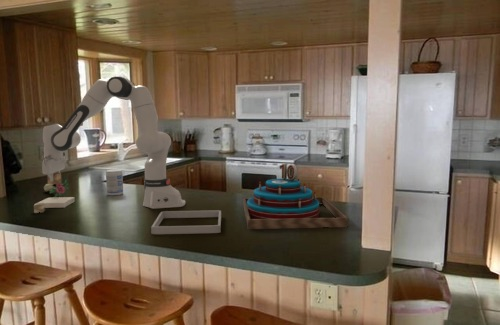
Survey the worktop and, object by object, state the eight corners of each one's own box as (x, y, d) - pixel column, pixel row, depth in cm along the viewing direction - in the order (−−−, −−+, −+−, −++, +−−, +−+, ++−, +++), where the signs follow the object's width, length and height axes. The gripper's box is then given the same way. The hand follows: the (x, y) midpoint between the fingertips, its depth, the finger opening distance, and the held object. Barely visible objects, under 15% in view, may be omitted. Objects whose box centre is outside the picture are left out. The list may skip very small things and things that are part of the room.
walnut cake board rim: (323, 204, 211) (323, 196, 210) (347, 227, 168) (348, 218, 168) (243, 205, 208) (243, 198, 208) (247, 229, 166) (247, 219, 165)
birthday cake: (232, 213, 193) (231, 164, 190) (281, 202, 216) (282, 158, 213) (284, 229, 167) (284, 172, 164) (334, 214, 190) (335, 164, 187)
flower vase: (55, 202, 250) (73, 199, 224) (34, 199, 243) (50, 195, 217) (59, 184, 253) (76, 178, 227) (38, 180, 245) (54, 174, 219)
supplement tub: (121, 195, 235) (120, 171, 233) (105, 196, 233) (104, 171, 232) (124, 192, 244) (123, 169, 242) (108, 192, 243) (107, 169, 241)
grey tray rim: (221, 216, 186) (221, 210, 186) (220, 232, 161) (220, 225, 160) (161, 217, 185) (161, 211, 184) (151, 234, 159) (150, 227, 158)
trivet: (74, 201, 219) (74, 197, 219) (64, 207, 205) (64, 202, 205) (48, 201, 218) (48, 197, 218) (36, 207, 204) (36, 203, 204)
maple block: (44, 210, 199) (44, 202, 199) (43, 212, 195) (42, 204, 195) (35, 211, 198) (35, 203, 197) (34, 213, 194) (33, 205, 194)
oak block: (61, 182, 213) (61, 173, 212) (57, 184, 208) (57, 174, 207) (52, 182, 212) (51, 173, 212) (47, 184, 208) (47, 174, 207)
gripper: (50, 156, 198) (52, 183, 200) (66, 152, 218) (68, 177, 220) (37, 156, 198) (39, 183, 199) (55, 152, 218) (56, 177, 220)
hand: (54, 180), depth 210 cm, fingers closed on oak block, 5 cm apart
